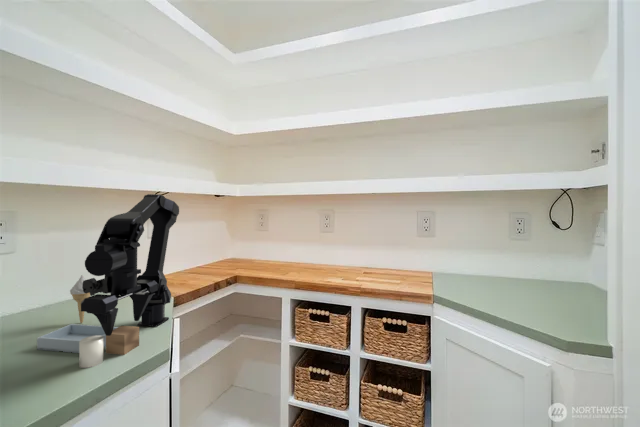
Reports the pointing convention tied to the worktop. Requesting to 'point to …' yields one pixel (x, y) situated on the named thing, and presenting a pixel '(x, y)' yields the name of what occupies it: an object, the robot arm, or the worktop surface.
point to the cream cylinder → (91, 351)
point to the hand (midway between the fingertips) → (123, 327)
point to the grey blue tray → (69, 337)
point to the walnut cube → (122, 340)
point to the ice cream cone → (79, 295)
